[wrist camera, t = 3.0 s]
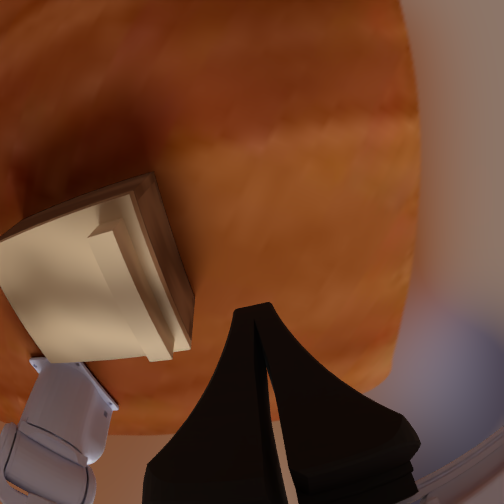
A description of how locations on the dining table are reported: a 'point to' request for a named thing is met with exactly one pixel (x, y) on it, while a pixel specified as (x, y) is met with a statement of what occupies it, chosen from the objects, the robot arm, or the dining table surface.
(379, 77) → the dining table surface
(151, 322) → the box lid
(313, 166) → the dining table surface
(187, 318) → the walnut box
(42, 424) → the robot arm
